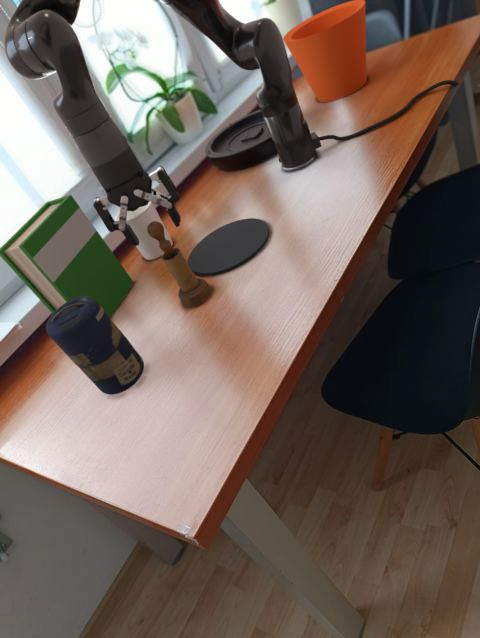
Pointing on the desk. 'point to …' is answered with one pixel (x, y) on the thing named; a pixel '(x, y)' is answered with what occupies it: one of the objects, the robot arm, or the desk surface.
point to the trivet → (229, 247)
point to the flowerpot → (332, 50)
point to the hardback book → (66, 258)
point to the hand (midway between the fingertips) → (157, 234)
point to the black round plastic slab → (241, 144)
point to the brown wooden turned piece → (180, 270)
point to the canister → (95, 345)
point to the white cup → (139, 226)
